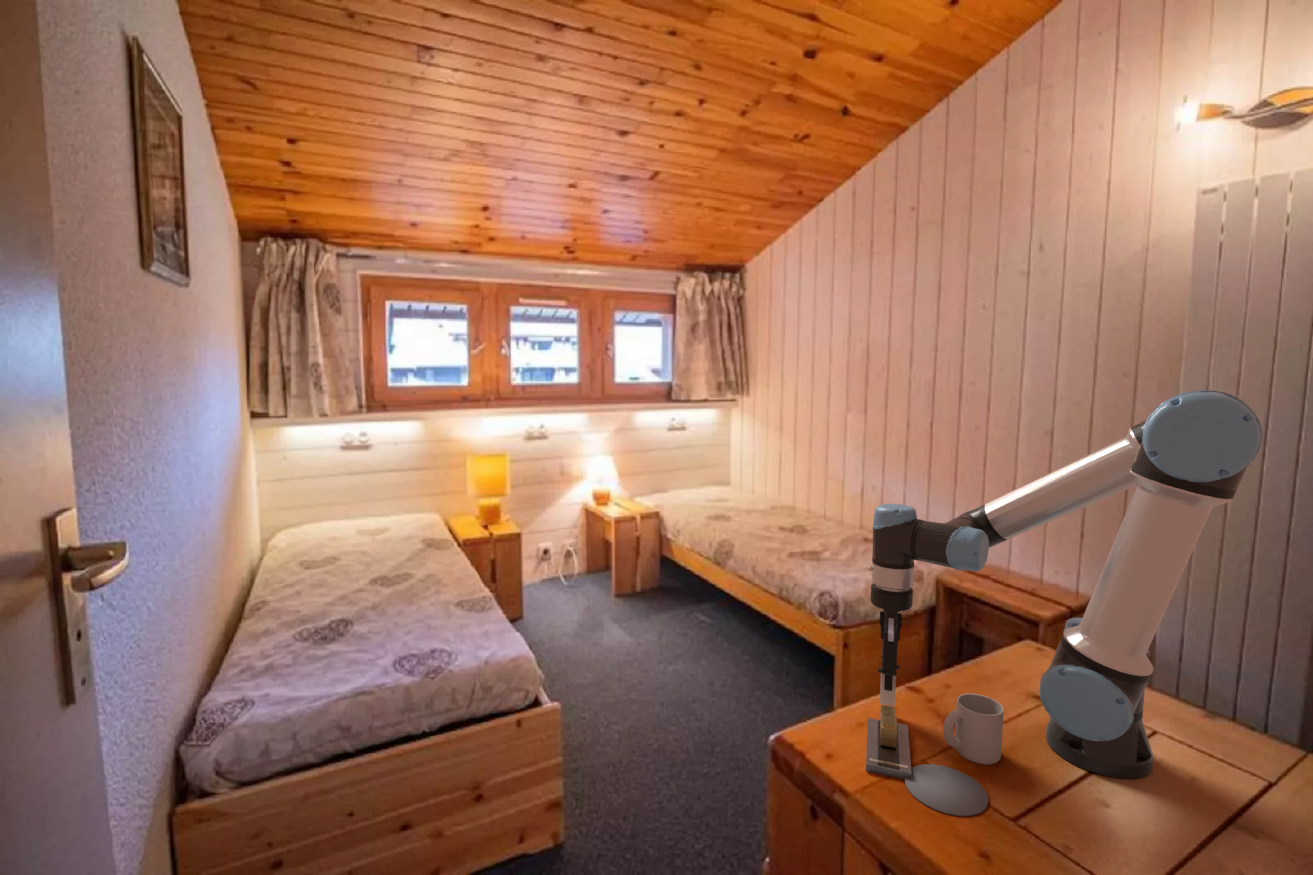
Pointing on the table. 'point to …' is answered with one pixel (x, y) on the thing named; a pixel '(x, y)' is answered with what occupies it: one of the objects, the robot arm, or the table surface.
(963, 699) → the cup
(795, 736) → the table surface
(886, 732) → the brass stepped block
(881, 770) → the lock plate
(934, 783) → the coaster
